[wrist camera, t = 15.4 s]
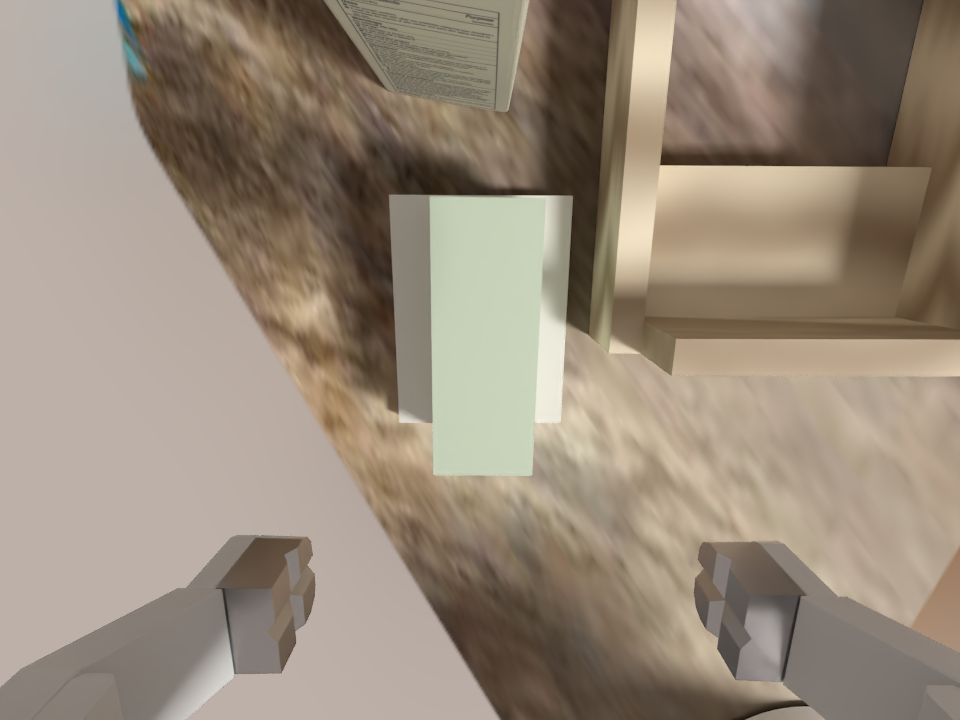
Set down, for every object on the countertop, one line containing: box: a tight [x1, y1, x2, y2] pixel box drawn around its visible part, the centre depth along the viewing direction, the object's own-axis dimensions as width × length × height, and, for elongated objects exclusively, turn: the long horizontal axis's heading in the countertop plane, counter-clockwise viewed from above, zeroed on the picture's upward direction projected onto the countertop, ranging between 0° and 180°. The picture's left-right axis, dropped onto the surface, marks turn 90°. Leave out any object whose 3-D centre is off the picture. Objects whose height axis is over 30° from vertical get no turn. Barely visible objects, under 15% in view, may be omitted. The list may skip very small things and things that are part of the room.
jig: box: [589, 0, 960, 376], centre depth 19 cm, size 18×16×8 cm
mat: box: [389, 195, 573, 423], centre depth 25 cm, size 12×9×1 cm
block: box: [430, 196, 546, 476], centre depth 22 cm, size 12×4×5 cm, turn 179°
